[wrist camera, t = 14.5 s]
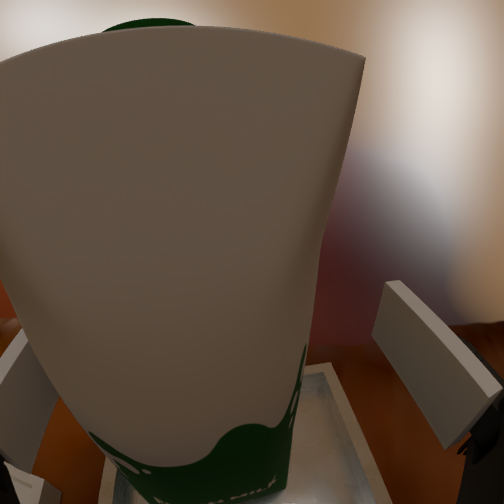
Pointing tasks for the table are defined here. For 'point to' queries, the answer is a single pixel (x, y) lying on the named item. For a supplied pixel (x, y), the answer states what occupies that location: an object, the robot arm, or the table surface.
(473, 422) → the robot arm
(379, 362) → the table surface
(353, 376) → the table surface
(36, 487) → the small square white tray
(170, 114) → the milk carton
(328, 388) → the shallow grey tray
